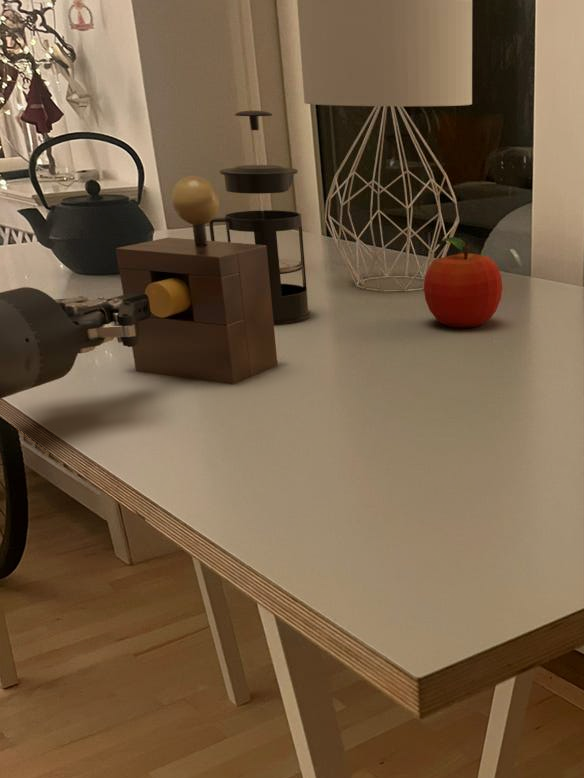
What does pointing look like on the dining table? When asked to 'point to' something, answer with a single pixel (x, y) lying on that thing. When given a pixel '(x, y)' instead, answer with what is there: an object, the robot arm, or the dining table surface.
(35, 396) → the dining table surface
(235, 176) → the french press
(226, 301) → the switch box
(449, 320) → the fruit
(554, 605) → the dining table surface
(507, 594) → the dining table surface
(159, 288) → the button
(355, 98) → the table lamp
